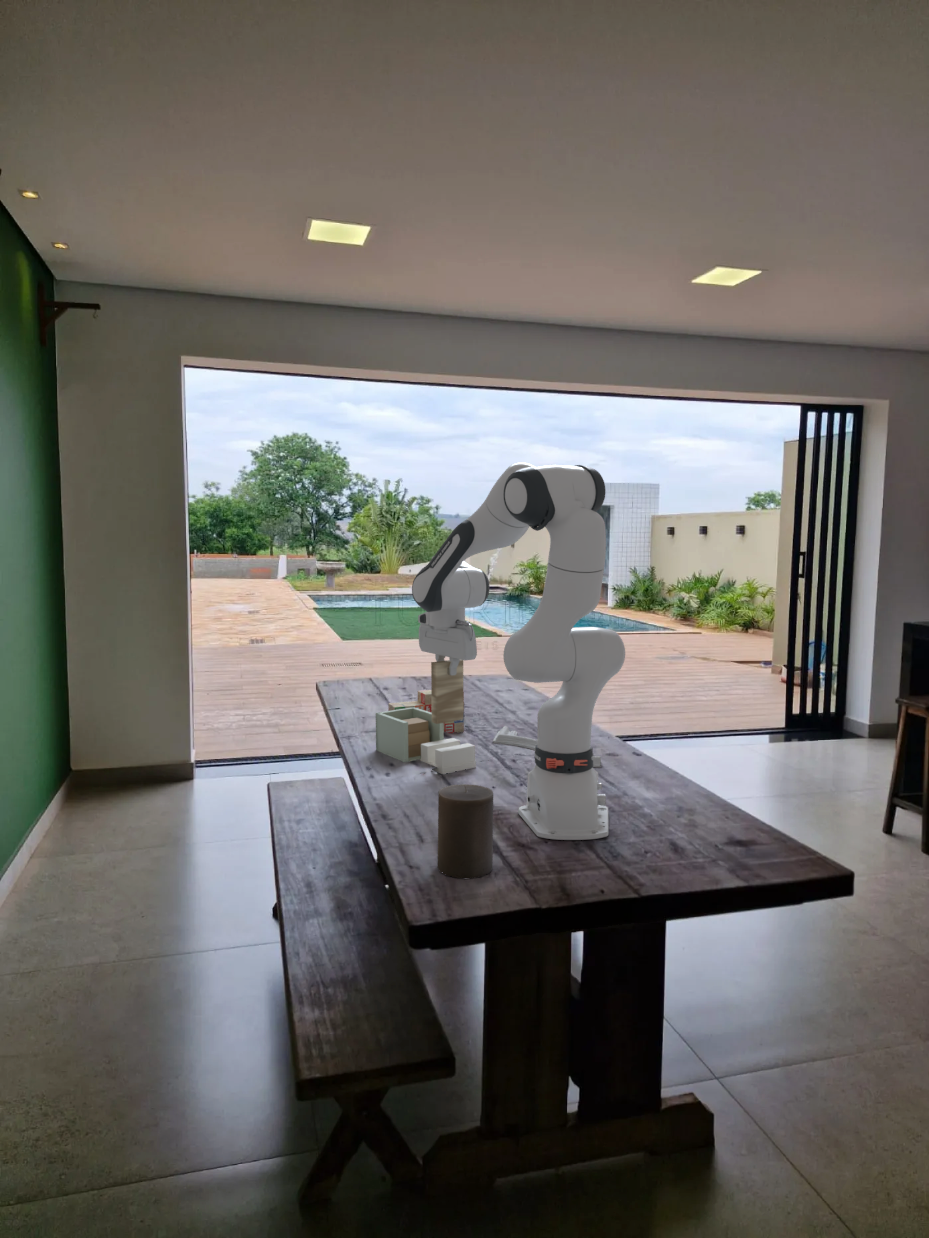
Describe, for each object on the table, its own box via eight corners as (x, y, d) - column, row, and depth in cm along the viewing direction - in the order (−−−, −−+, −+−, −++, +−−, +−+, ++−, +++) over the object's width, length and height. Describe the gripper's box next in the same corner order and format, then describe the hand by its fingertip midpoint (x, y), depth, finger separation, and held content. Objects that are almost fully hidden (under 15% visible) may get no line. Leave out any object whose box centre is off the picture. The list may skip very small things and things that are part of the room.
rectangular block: (463, 719, 206) (463, 660, 204) (437, 723, 201) (436, 663, 199) (457, 717, 208) (457, 659, 206) (431, 722, 203) (431, 662, 201)
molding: (611, 767, 207) (611, 756, 206) (575, 775, 200) (575, 763, 200) (509, 733, 241) (509, 723, 241) (475, 738, 235) (475, 728, 234)
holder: (475, 767, 205) (475, 745, 204) (443, 774, 199) (442, 752, 198) (452, 758, 213) (452, 737, 212) (420, 765, 207) (420, 743, 206)
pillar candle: (458, 884, 137) (459, 797, 136) (426, 864, 145) (427, 782, 144) (504, 870, 143) (505, 786, 141) (471, 852, 151) (472, 773, 149)
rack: (443, 758, 212) (443, 716, 211) (404, 766, 205) (403, 722, 204) (414, 747, 224) (414, 707, 222) (376, 754, 216) (375, 712, 215)
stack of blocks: (394, 739, 233) (394, 696, 232) (388, 734, 239) (387, 692, 237) (464, 732, 241) (464, 690, 240) (456, 727, 247) (456, 687, 245)
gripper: (483, 621, 195) (483, 678, 197) (434, 613, 212) (435, 666, 213) (461, 623, 191) (461, 681, 193) (414, 615, 208) (414, 669, 209)
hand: (447, 673), depth 203 cm, fingers closed on rectangular block, 2 cm apart
